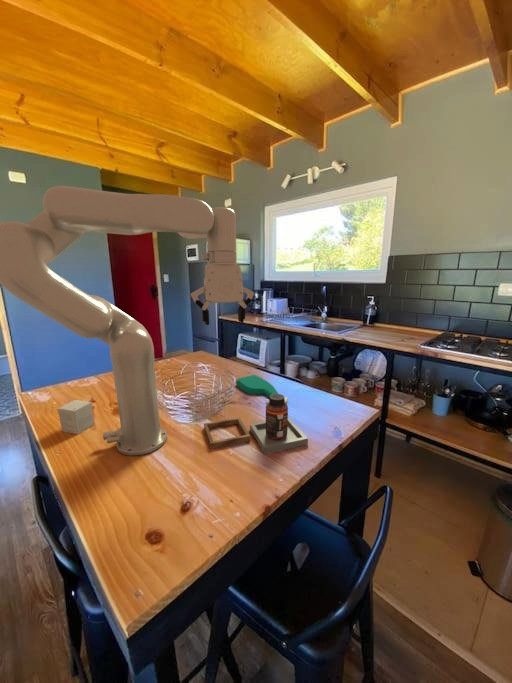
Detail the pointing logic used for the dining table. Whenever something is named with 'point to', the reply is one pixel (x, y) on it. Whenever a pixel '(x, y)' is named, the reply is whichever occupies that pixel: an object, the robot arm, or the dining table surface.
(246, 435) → the holder
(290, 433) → the tray
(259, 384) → the spray bottle
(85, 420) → the product box
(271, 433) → the supplement bottle
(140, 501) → the dining table surface
